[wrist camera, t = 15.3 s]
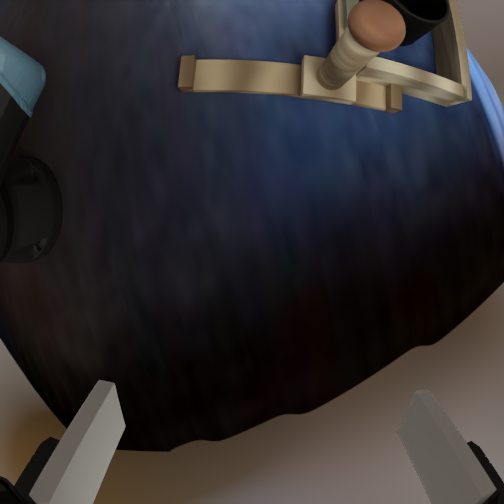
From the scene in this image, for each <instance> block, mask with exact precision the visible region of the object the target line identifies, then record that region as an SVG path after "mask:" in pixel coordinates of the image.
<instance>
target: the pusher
mask: <svg viewBox="0 0 504 504" xmlns="http://www.w3.org/2000/svg"><path fill="white" fill-rule="evenodd" d="M335 20H336V44H335V46H334V47H333V49H332V50H331V51H330V53H329V54H328V56H327V57H326V58H321V57H315V56H307V55H304V57H303V59H302V64H301V91H300V98H307V99H315V100H323V101H329V102H336V103H342V104H348V105H351V104H353V103H354V102H356V74H357V73H358V72H359V71H360V70H361V69H362V68H363V67H364V66H365V65H366V64H367V63H369V62H370V61H371V60H372V59H373V58H374V57H375V56H377V55H378V54H379V53H380V52H387V51H390V50H393V49H395V48H397V47H398V46H399V45H400V44H401V43H402V41H403V39H404V37H405V33H406V26H405V22H404V20H403V17H402V16H401V14H400V13H399V12H398V11H397V9H395V8H394V7H393V6H392V5H390V4H388V3H386V2H384V1H381V0H363V1H361V2H359V0H337V3H336V4H335Z"/></svg>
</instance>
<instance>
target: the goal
mask: <svg viewBox="0 0 504 504" xmlns="http://www.w3.org/2000/svg"><path fill="white" fill-rule="evenodd" d="M448 3H449V15H448V17H447V19H446V20H445V21H443V22H442V23H441V24H439V25H438V26H436V27H435V28H433V29H432V37H433V45H434V54H435V64H436V75H435V74H433V73H430V72H427V71H424V70H421V69H418V68H415V67H411V66H408V65H405V64H401V63H398V62H394V61H391V60H387V59H383V58H379V57H374V58H373V59H372V60H371V61H370V62H369V63H367V64H366V65H365V66H364V67H363V68H362V69H361V70H360V71H359V72H358V73H357V74H356V80H358V81H363V82H368V83H372V84H377V85H381V86H385V87H386V86H388V85H390V84H394V85H397V86H401V87H402V93H403V94H406V95H410V96H413V97H417V98H420V99H424V100H427V101H430V102H433V103H436V104H440V105H443V106H446V107H448V106H452V105H455V104H459V103H463V102H467V101H471V100H472V94H471V81H470V72H469V63H468V56H467V49H466V42H465V37H464V31H463V26H462V21H461V16H460V12H459V8H458V4H457V0H448Z"/></svg>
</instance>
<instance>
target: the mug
mask: <svg viewBox="0 0 504 504" xmlns="http://www.w3.org/2000/svg"><path fill="white" fill-rule="evenodd" d="M361 1H363V0H360V1H359V2H361ZM381 1H384V2H386V3H388V4H390V5H392V6H393V7H394V8H395V9H397V11H398V12H399V13H400V14H401V16H402V17H403V20H404V22H405V26H406V33H405V37H404V39H403V41H402V43H401V44H400V45H399V46H407V45H410V44H412V43H414V42H415V41H416V40H418V39H419V38H421V37H422V36H423V35H425V34H426V33H428V32H429V31H430V30H432V29H433V28H435V27H436V26H438V25H439V24H441V23H442V22H443V21H445V20H446V19H447V17H448V15H449V3H448V0H381Z"/></svg>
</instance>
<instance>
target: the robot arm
mask: <svg viewBox="0 0 504 504" xmlns="http://www.w3.org/2000/svg"><path fill="white" fill-rule="evenodd" d="M45 83H46V72H45V69H44V68H43V66H42V65H41V64H39V63H38V62H37V61H35V60H34V59H33V58H31V57H30V56H28V55H27V54H25V53H24V52H23V51H21V50H20V49H18V48H17V47H15V46H14V45H12V44H11V43H9V42H8V41H6V40H5V39H3V38H2V37H0V262H11V263H28V262H32V261H34V260H36V259H38V258H40V257H42V256H44V255H45V254H46V253H48V252H49V251H50V249H51V248H52V247H53V245H54V244H55V242H56V240H57V237H58V234H59V231H60V227H61V221H62V201H61V195H60V191H59V187H58V184H57V182H56V180H55V177H54V176H53V174H52V172H51V171H50V170H49V168H48V167H47V166H46V165H45V164H43V163H42V162H41V161H39V160H37V159H34V158H15V159H11V157H12V155H13V152H14V150H15V148H16V145H17V143H18V141H19V139H20V136H21V134H22V132H23V130H24V128H25V126H26V124H27V122H28V120H29V118H30V117H32V115H33V109H34V106H35V104H36V102H37V100H38V98H39V96H40V94H41V92H42V90H43V88H44V86H45ZM124 429H125V423H124V419H123V416H122V412H121V408H120V404H119V400H118V396H117V392H116V387H115V383H111V382H107V381H102V380H99V381H98V382H97V384H96V385H95V387H94V388H93V390H92V391H91V393H90V394H89V396H88V397H87V399H86V400H85V402H84V404H83V405H82V407H81V408H80V410H79V411H78V413H77V414H76V416H75V418H74V419H73V421H72V422H71V424H70V426H69V427H68V429H67V431H66V432H65V434H64V435H63V437H62V439H61V440H57V439H55V438H52V437H49V438H48V439H46V440H45V441H44V442H42V443H41V444H40V445H39V447H38V449H37V450H36V452H35V455H33V456H32V458H31V460H30V462H29V463H28V464H27V466H26V467H25V469H24V471H23V472H22V474H21V476H20V477H19V479H18V480H17V482H16V484H15V485H14V486H13V485H12V484H11V483H10V482H9V481H8V480H7V479H6V478H3V477H1V476H0V504H93V502H94V500H95V497H96V495H97V492H98V490H99V487H100V485H101V482H102V480H103V478H104V475H105V473H106V470H107V468H108V466H109V463H110V461H111V458H112V456H113V454H114V451H115V449H116V447H117V445H118V442H119V440H120V438H121V435H122V433H123V431H124ZM397 433H398V435H399V437H400V439H401V441H402V443H403V445H404V447H405V449H406V451H407V453H408V455H409V457H410V459H411V461H412V463H413V465H414V468H415V470H416V471H417V474H418V476H419V478H420V480H421V482H422V484H423V486H424V489H425V491H426V493H427V495H428V497H429V499H430V502H431V504H504V483H503V481H502V480H501V478H500V476H499V475H498V474H497V472H496V470H495V469H494V467H493V466H492V464H491V463H489V460H488V458H487V457H485V454H484V453H483V451H482V450H481V448H480V447H479V446H478V445H476V444H475V443H473V442H472V441H471V442H468V443H466V441H465V440H464V438H463V437H462V436H461V434H460V433H459V431H458V430H457V428H456V427H455V425H454V424H453V422H452V421H451V420H450V418H449V417H448V415H447V414H446V412H445V411H444V410H443V408H442V407H441V405H440V404H439V403H438V401H437V400H436V399H435V397H434V396H433V395H432V393H431V392H430V390H429V389H424V390H417V391H415V393H414V395H413V398H412V400H411V402H410V405H409V407H408V409H407V411H406V414H405V416H404V418H403V420H402V422H401V424H400V427H399V428H398V431H397Z"/></svg>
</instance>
